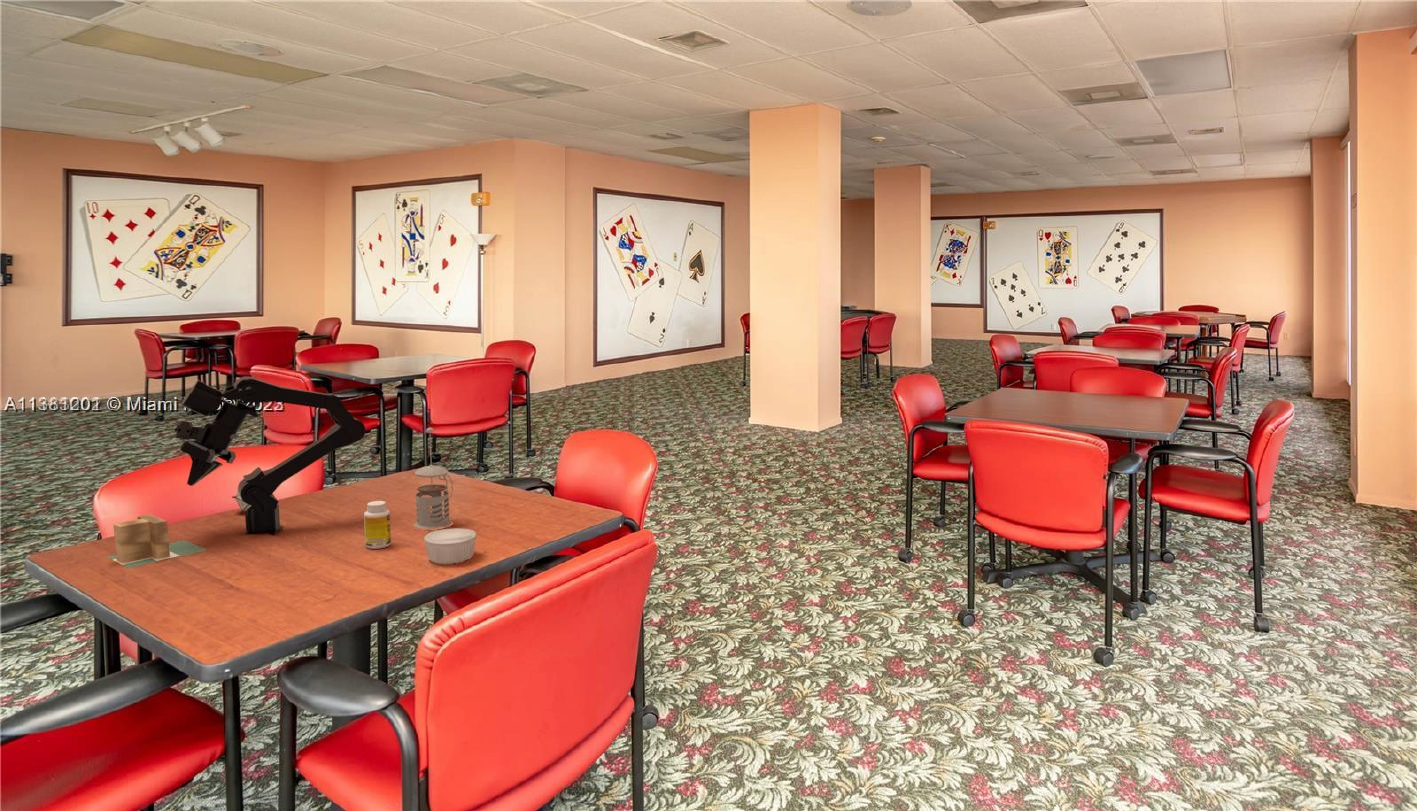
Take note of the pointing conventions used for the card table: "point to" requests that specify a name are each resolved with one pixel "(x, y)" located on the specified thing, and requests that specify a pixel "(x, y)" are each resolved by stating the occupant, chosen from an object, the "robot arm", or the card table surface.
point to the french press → (424, 503)
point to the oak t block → (141, 539)
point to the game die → (241, 503)
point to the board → (175, 551)
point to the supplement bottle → (377, 525)
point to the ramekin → (450, 545)
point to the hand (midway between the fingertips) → (189, 485)
